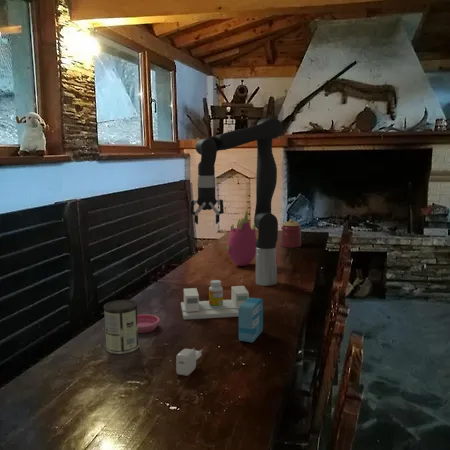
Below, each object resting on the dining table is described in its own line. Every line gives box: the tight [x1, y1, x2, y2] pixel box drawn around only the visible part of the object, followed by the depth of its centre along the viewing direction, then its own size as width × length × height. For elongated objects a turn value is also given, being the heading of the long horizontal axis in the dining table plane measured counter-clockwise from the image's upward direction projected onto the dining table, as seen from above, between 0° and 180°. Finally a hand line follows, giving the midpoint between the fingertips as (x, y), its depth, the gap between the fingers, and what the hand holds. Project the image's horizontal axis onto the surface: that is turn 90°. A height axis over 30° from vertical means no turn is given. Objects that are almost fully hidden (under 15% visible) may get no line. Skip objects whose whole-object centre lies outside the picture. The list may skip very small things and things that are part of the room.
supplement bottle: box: [208, 279, 224, 308], centre depth 186 cm, size 5×5×10 cm
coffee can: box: [103, 299, 140, 355], centre depth 152 cm, size 10×10×14 cm
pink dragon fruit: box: [226, 210, 258, 267], centre depth 257 cm, size 18×14×30 cm
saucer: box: [137, 313, 161, 334], centre depth 169 cm, size 12×12×3 cm
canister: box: [280, 218, 302, 249], centre depth 310 cm, size 13×13×18 cm
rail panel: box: [180, 285, 250, 321], centre depth 187 cm, size 26×16×8 cm, turn 99°
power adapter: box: [175, 347, 204, 377], centre depth 138 cm, size 11×5×6 cm, turn 159°
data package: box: [238, 296, 264, 344], centre depth 160 cm, size 12×4×12 cm, turn 158°
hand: (207, 223), depth 208 cm, fingers open, 8 cm apart
